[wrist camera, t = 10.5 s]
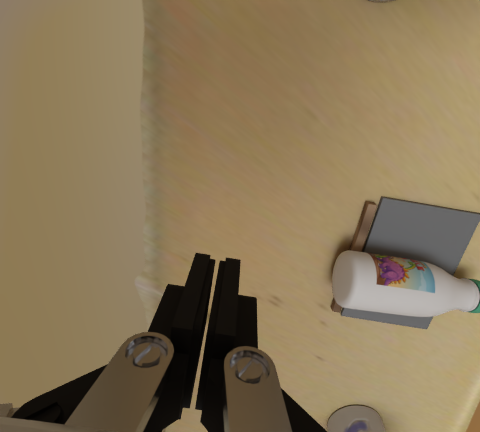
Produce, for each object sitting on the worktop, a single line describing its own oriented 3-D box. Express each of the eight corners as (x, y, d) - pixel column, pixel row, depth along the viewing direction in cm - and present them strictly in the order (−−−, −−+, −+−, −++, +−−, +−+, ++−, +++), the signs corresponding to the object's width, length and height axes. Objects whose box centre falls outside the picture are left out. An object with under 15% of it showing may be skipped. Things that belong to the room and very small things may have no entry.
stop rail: (365, 201, 45) (368, 203, 44) (374, 202, 45) (377, 205, 44) (330, 306, 52) (332, 311, 51) (338, 307, 52) (339, 312, 51)
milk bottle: (326, 291, 49) (450, 307, 51) (345, 318, 41) (490, 336, 43) (338, 242, 47) (466, 261, 49) (360, 261, 40) (510, 283, 41)
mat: (381, 196, 45) (383, 197, 44) (479, 213, 45) (482, 214, 45) (340, 313, 52) (341, 315, 52) (425, 326, 53) (427, 329, 52)
